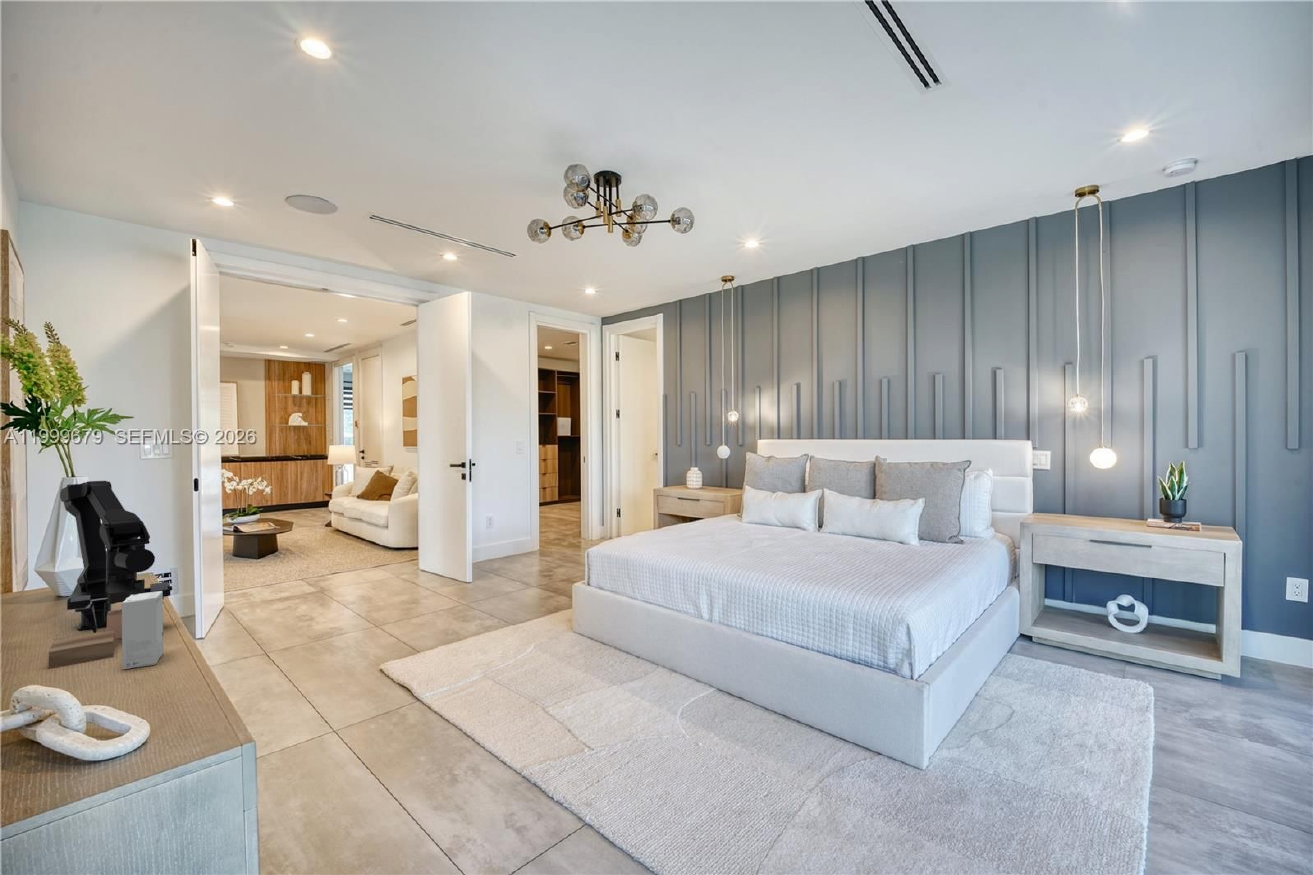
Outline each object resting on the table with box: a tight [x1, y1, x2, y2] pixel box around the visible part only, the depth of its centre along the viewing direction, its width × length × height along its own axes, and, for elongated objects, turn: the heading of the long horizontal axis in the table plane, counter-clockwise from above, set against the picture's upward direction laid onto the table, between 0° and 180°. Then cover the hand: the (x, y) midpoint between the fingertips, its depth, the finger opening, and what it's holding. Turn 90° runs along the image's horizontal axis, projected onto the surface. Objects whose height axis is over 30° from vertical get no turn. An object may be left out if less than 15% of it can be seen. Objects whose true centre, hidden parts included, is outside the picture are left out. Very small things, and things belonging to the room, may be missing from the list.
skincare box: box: [121, 591, 164, 670], centre depth 125 cm, size 8×6×15 cm
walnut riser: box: [48, 630, 116, 669], centre depth 128 cm, size 10×10×4 cm
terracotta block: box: [106, 608, 122, 640], centre depth 142 cm, size 5×5×6 cm
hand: (120, 629), depth 142 cm, fingers open, 9 cm apart
